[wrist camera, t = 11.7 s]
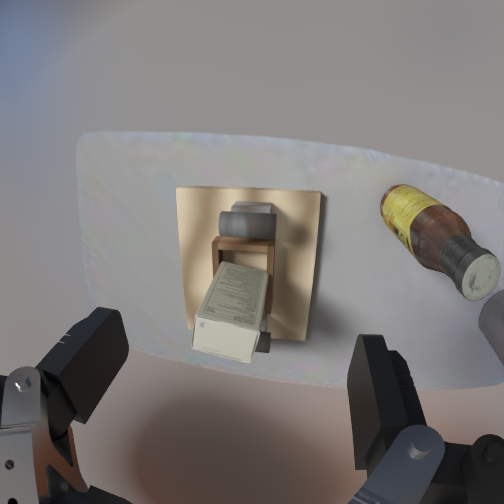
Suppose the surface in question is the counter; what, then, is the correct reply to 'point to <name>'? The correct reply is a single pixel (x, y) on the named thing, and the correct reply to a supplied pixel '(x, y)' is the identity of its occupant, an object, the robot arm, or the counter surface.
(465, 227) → the sauce bottle
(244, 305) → the skincare box
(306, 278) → the board
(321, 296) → the counter surface
